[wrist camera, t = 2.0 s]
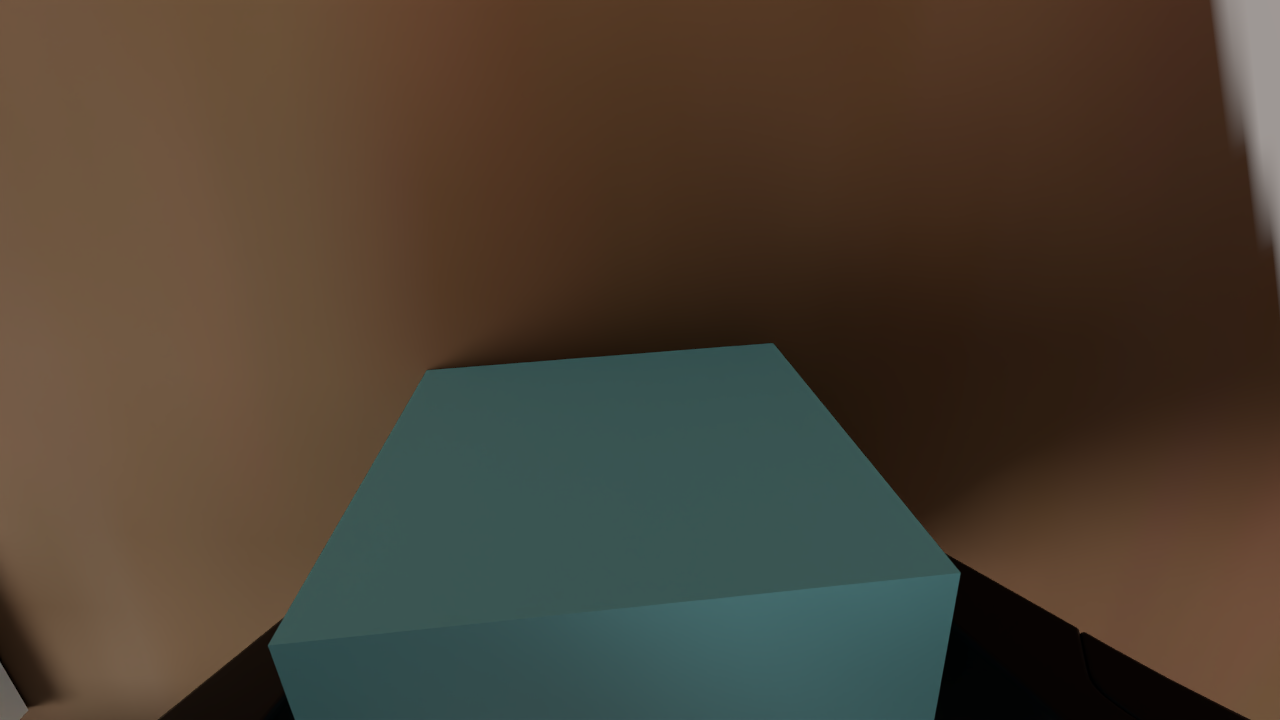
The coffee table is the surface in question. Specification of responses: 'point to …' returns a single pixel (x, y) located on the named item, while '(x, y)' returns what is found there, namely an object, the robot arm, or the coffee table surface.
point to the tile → (10, 699)
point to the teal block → (621, 556)
